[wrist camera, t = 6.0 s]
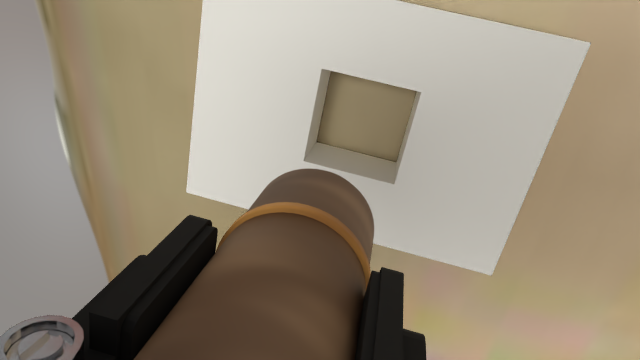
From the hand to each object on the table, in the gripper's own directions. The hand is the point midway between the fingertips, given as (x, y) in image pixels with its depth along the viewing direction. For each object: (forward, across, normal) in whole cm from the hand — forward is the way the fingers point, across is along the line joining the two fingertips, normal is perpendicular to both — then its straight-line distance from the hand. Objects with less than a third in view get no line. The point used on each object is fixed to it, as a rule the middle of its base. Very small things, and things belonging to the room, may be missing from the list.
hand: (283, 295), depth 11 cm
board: (+20, 0, 0) cm, 20 cm away
